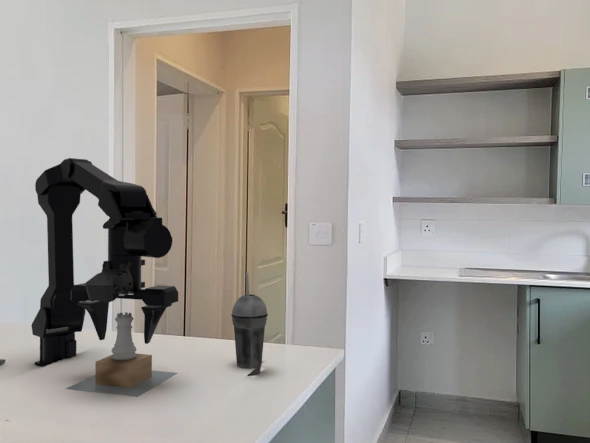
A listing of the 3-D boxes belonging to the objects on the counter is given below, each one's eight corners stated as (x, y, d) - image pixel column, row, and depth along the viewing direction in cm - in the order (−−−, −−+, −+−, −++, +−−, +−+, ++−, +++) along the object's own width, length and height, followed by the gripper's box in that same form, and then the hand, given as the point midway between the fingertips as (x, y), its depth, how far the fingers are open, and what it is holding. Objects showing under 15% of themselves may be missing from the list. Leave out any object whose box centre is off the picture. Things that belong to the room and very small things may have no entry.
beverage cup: (273, 370, 111) (274, 271, 110) (256, 379, 104) (257, 275, 104) (242, 365, 114) (243, 269, 113) (223, 374, 107) (224, 273, 107)
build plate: (64, 397, 93) (64, 388, 93) (112, 374, 107) (113, 366, 107) (137, 405, 90) (137, 396, 90) (177, 380, 103) (177, 372, 103)
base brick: (95, 384, 96) (95, 361, 96) (118, 373, 102) (118, 352, 102) (130, 388, 94) (130, 364, 94) (151, 376, 101) (151, 354, 101)
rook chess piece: (129, 362, 96) (129, 316, 95) (106, 360, 96) (106, 315, 96) (141, 355, 100) (141, 312, 100) (118, 354, 101) (119, 311, 101)
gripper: (49, 256, 93) (49, 348, 93) (147, 259, 88) (147, 356, 88) (90, 252, 103) (90, 334, 103) (180, 255, 98) (179, 341, 99)
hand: (124, 341), depth 98 cm, fingers open, 9 cm apart
